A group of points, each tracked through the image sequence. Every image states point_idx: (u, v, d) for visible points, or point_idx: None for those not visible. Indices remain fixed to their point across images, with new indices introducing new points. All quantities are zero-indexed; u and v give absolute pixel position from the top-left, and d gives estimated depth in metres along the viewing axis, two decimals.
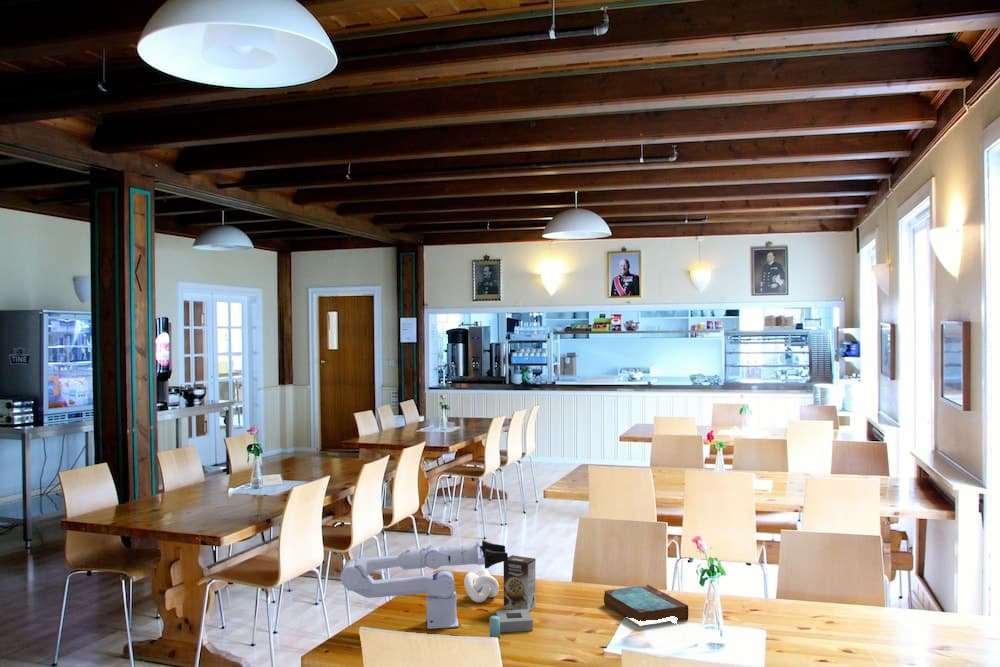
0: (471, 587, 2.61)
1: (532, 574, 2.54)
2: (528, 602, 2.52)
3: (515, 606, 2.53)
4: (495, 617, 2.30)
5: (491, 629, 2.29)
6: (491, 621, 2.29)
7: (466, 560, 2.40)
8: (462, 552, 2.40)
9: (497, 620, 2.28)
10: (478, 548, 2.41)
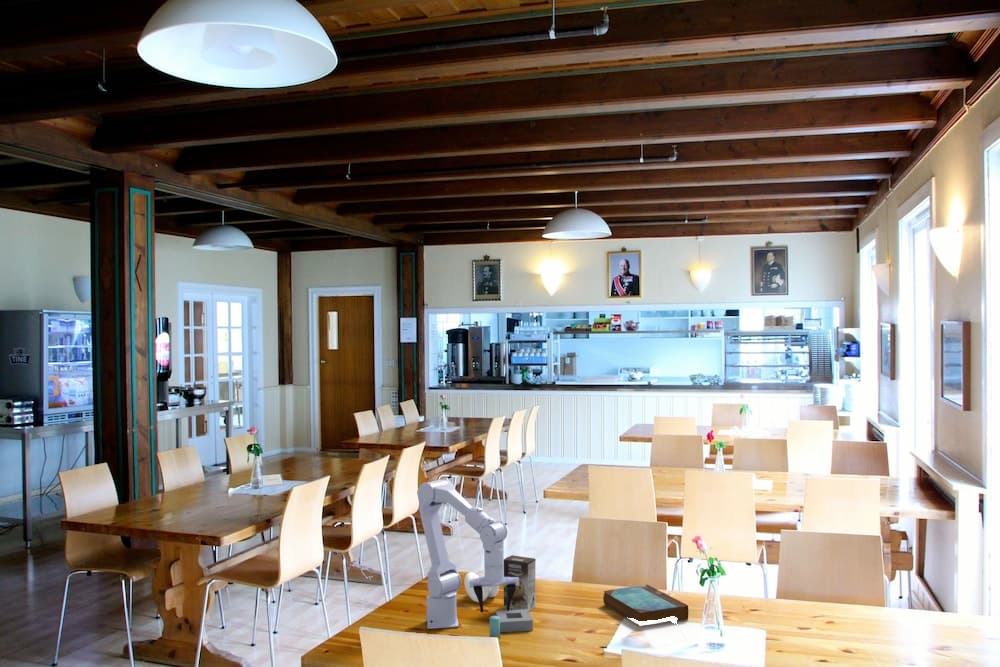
0: None
1: (532, 574, 2.54)
2: (528, 602, 2.52)
3: (515, 606, 2.53)
4: (495, 617, 2.30)
5: (491, 629, 2.29)
6: (491, 621, 2.29)
7: None
8: (487, 565, 2.28)
9: (497, 620, 2.28)
10: (488, 583, 2.27)
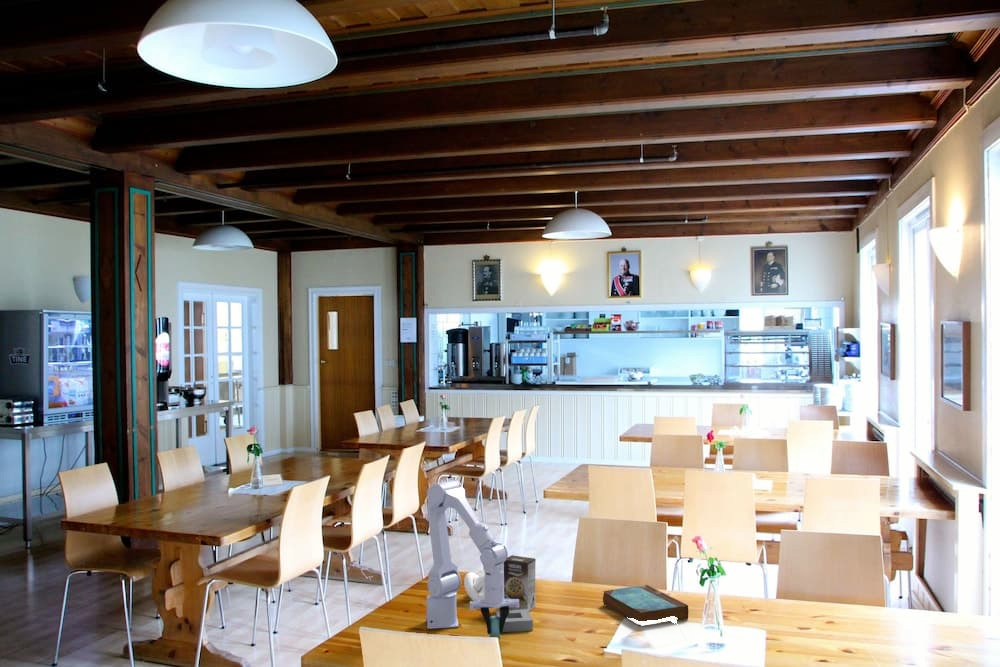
0: (471, 587, 2.61)
1: (532, 574, 2.54)
2: (528, 602, 2.52)
3: None
4: (495, 617, 2.30)
5: (491, 629, 2.29)
6: (491, 621, 2.29)
7: None
8: (487, 587, 2.28)
9: (497, 620, 2.28)
10: (488, 605, 2.27)
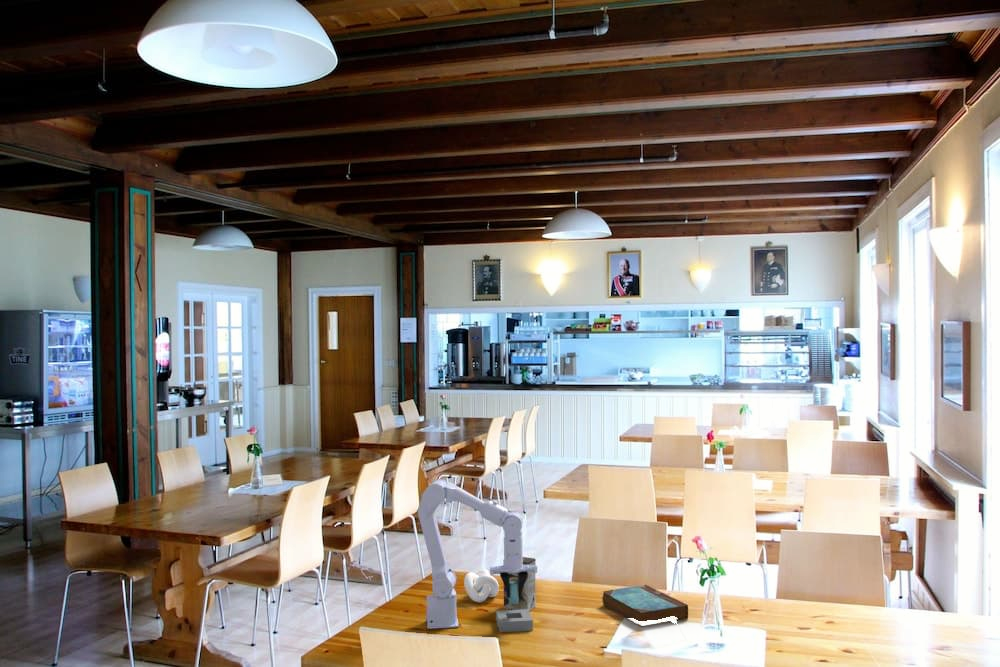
0: (471, 587, 2.61)
1: (532, 574, 2.54)
2: (528, 602, 2.52)
3: (515, 606, 2.53)
4: (514, 582, 2.40)
5: (510, 594, 2.39)
6: (510, 586, 2.39)
7: None
8: (506, 553, 2.38)
9: (516, 585, 2.39)
10: (507, 570, 2.37)
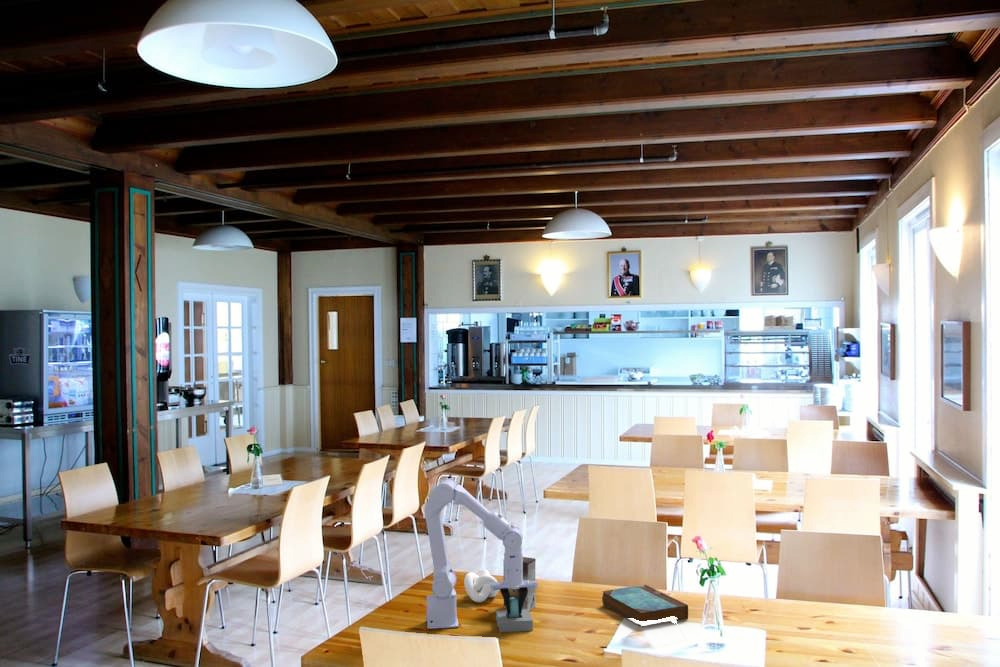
0: (471, 587, 2.61)
1: (532, 574, 2.54)
2: (528, 602, 2.52)
3: None
4: (514, 598, 2.40)
5: (510, 610, 2.39)
6: (510, 602, 2.39)
7: None
8: (507, 569, 2.38)
9: (516, 601, 2.39)
10: (508, 586, 2.37)
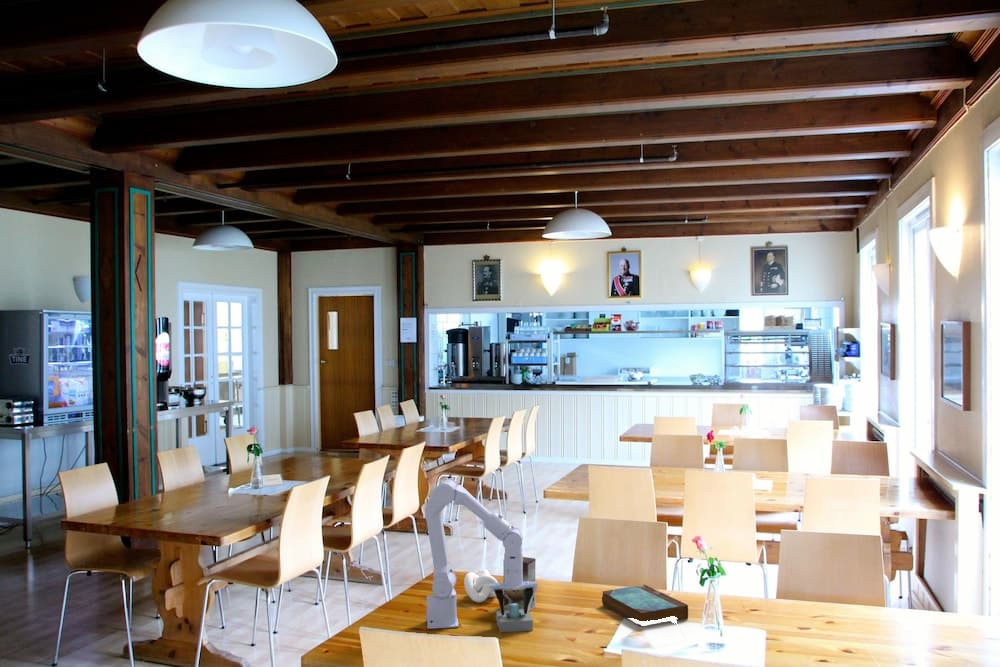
0: (471, 587, 2.61)
1: (532, 574, 2.54)
2: None
3: None
4: (514, 604, 2.40)
5: (510, 616, 2.39)
6: (510, 608, 2.39)
7: (504, 571, 2.41)
8: (507, 570, 2.38)
9: (516, 607, 2.39)
10: (508, 587, 2.37)
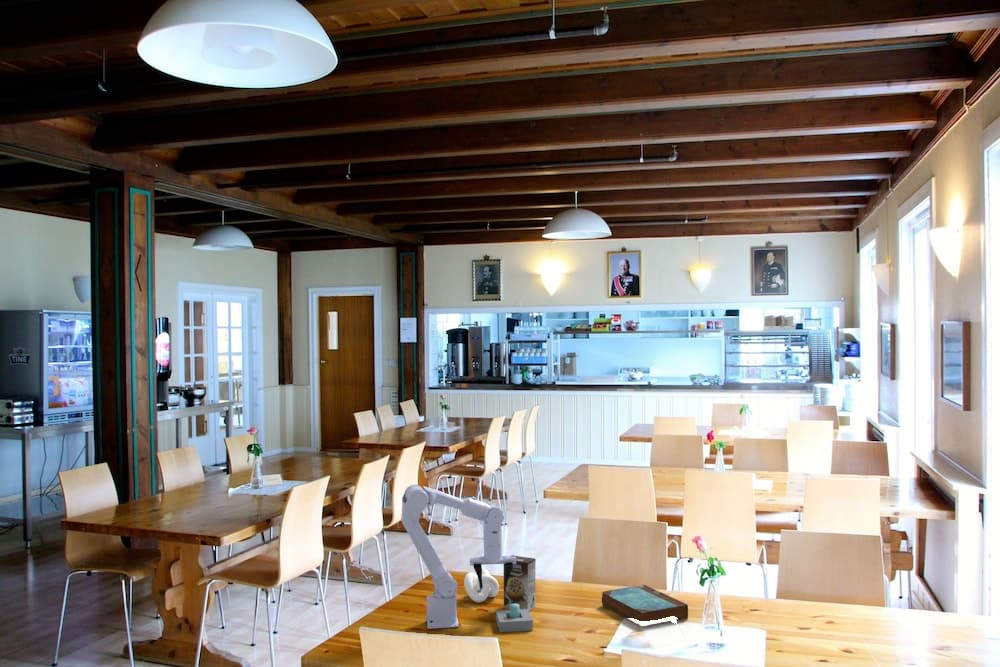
0: (471, 587, 2.61)
1: (532, 574, 2.54)
2: (528, 602, 2.52)
3: None
4: (515, 604, 2.40)
5: (511, 616, 2.39)
6: (511, 608, 2.39)
7: None
8: (486, 544, 2.45)
9: (516, 607, 2.39)
10: (487, 561, 2.44)
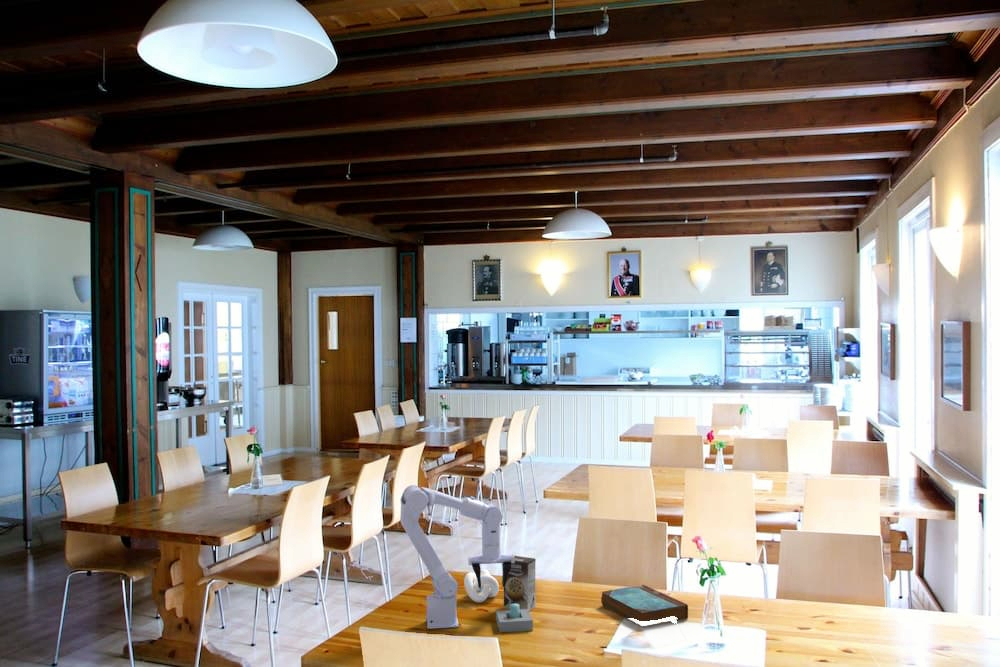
0: (471, 587, 2.61)
1: (532, 574, 2.54)
2: (528, 602, 2.52)
3: None
4: (515, 604, 2.40)
5: (511, 616, 2.39)
6: (511, 608, 2.39)
7: None
8: (484, 544, 2.45)
9: (516, 607, 2.39)
10: (485, 561, 2.44)
